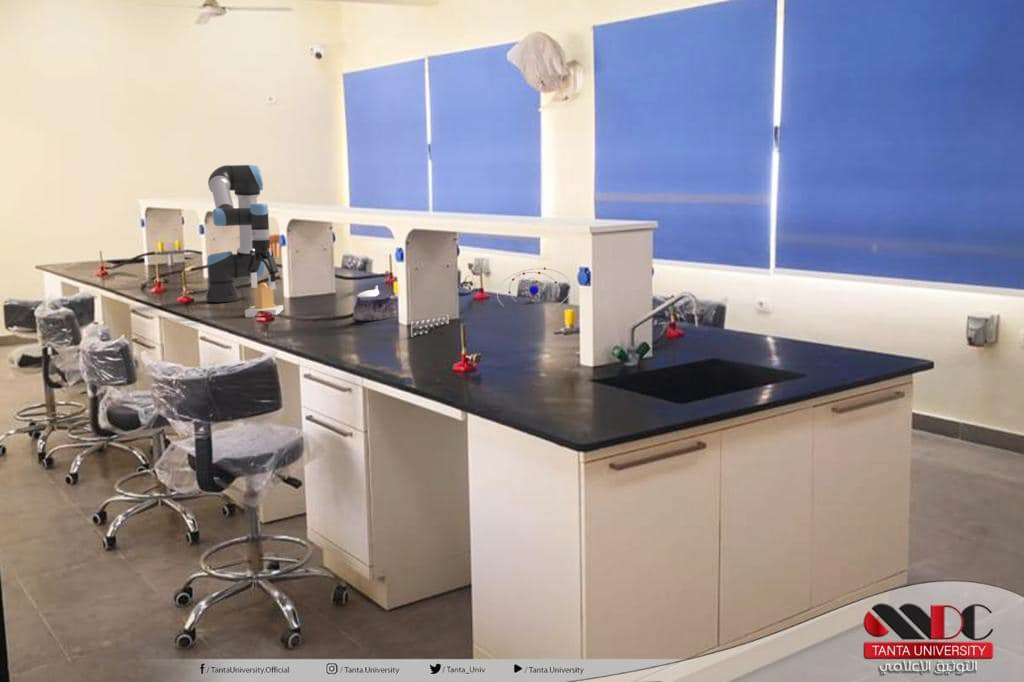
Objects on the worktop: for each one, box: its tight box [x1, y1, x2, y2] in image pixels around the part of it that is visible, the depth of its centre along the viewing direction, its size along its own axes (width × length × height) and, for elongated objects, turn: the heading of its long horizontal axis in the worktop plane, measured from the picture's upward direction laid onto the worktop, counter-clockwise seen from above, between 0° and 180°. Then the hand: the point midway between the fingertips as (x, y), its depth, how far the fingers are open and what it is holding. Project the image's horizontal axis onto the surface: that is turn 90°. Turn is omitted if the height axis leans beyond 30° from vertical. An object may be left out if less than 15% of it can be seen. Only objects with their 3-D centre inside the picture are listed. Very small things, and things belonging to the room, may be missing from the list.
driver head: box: [356, 285, 380, 298], centre depth 478 cm, size 10×11×12 cm
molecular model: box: [410, 314, 450, 338], centre depth 378 cm, size 25×9×6 cm, turn 147°
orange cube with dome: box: [252, 282, 275, 309], centre depth 434 cm, size 6×6×11 cm
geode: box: [352, 297, 398, 322], centre depth 407 cm, size 20×12×10 cm, turn 142°
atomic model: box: [496, 267, 572, 307], centre depth 433 cm, size 28×21×30 cm
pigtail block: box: [244, 304, 284, 318], centre depth 435 cm, size 18×13×7 cm
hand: (263, 288), depth 434 cm, fingers open, 13 cm apart
